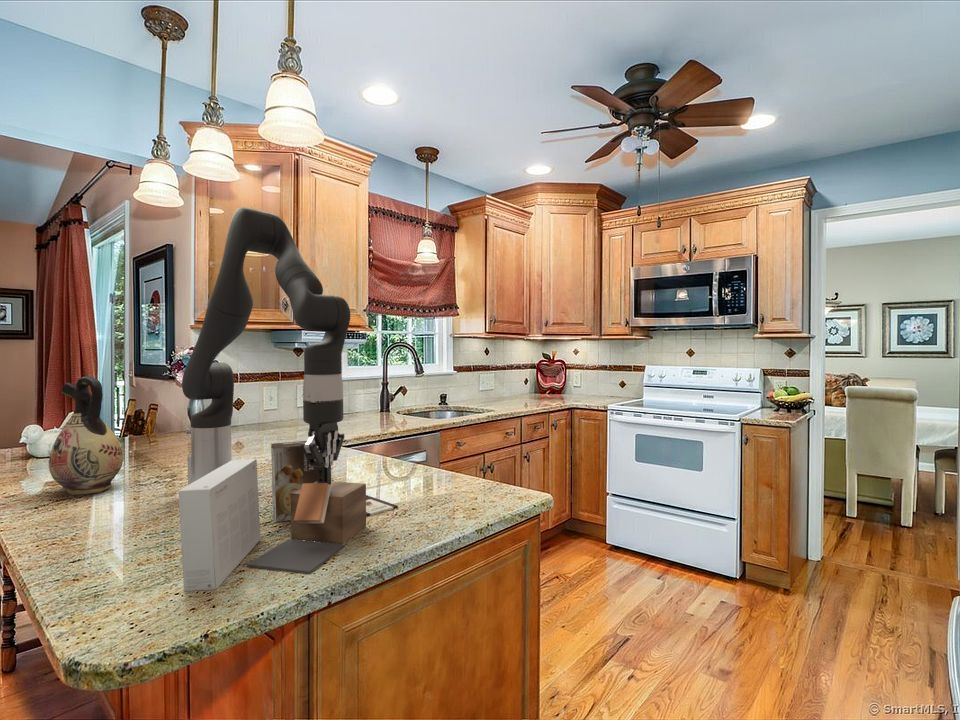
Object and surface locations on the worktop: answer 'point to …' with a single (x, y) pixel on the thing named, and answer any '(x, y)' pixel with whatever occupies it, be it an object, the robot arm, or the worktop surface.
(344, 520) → the step
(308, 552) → the mat
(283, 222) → the robot arm
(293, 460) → the coffee box
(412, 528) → the worktop surface
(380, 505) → the chocolate bar
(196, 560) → the skincare box
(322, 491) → the tile
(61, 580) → the worktop surface
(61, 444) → the ceramic jug
